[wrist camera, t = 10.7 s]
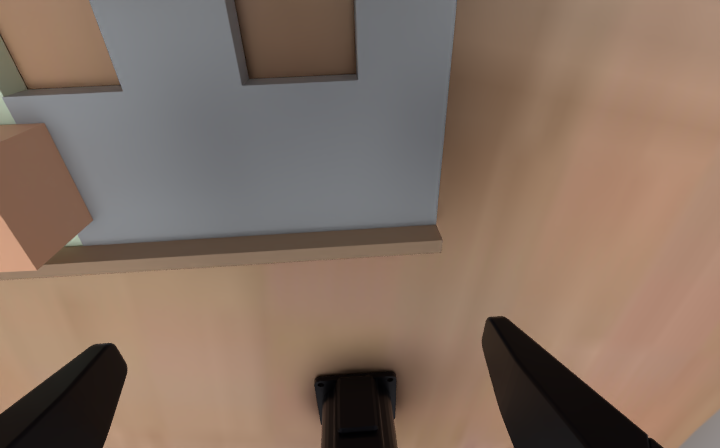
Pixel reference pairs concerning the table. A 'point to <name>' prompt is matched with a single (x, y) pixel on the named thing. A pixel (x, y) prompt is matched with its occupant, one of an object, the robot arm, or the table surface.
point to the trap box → (246, 142)
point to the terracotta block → (35, 199)
